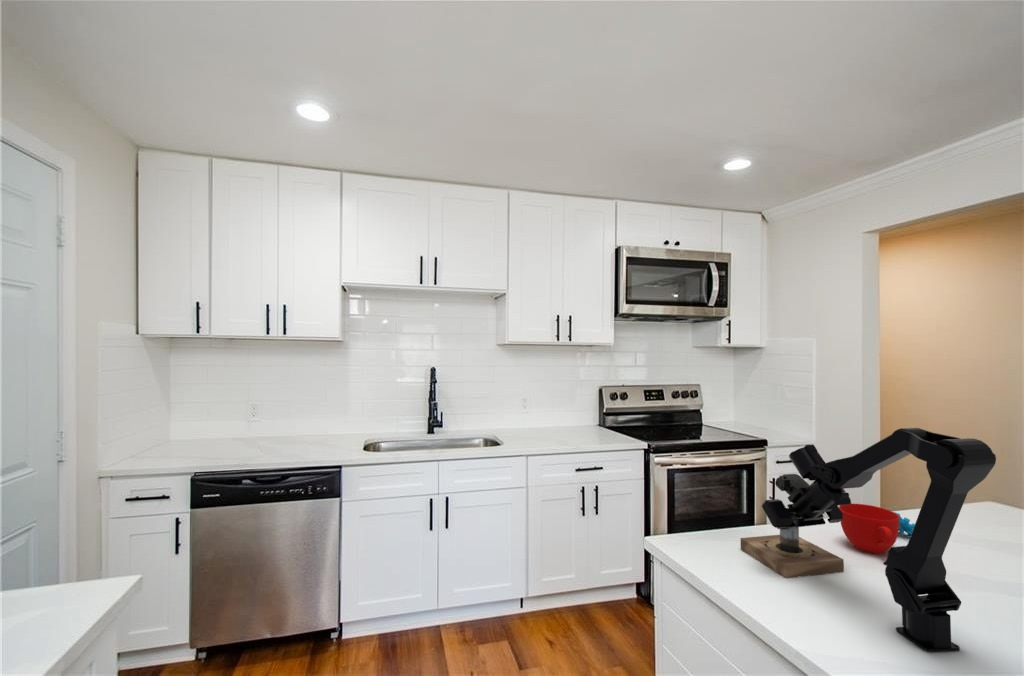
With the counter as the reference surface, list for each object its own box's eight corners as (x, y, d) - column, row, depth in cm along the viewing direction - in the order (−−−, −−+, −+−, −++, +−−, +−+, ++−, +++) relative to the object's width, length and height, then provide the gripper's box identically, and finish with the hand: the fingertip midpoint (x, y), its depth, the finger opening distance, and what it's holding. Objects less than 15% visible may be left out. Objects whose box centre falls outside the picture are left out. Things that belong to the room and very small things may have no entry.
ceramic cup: (860, 563, 116) (859, 523, 116) (831, 537, 132) (830, 501, 132) (921, 569, 113) (920, 527, 113) (883, 541, 129) (882, 505, 129)
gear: (931, 536, 128) (905, 511, 128) (920, 553, 127) (894, 528, 127) (893, 526, 139) (869, 503, 139) (883, 542, 138) (859, 519, 138)
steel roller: (800, 559, 115) (799, 518, 115) (780, 556, 117) (779, 516, 117) (798, 552, 119) (797, 513, 119) (779, 549, 121) (778, 511, 121)
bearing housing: (843, 571, 112) (843, 559, 112) (785, 578, 109) (785, 565, 109) (792, 544, 127) (792, 533, 127) (740, 549, 125) (740, 538, 125)
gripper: (831, 464, 116) (798, 495, 127) (766, 468, 113) (737, 499, 124) (861, 506, 108) (823, 535, 119) (791, 511, 105) (759, 541, 116)
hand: (785, 526), depth 119 cm, fingers closed on steel roller, 4 cm apart
